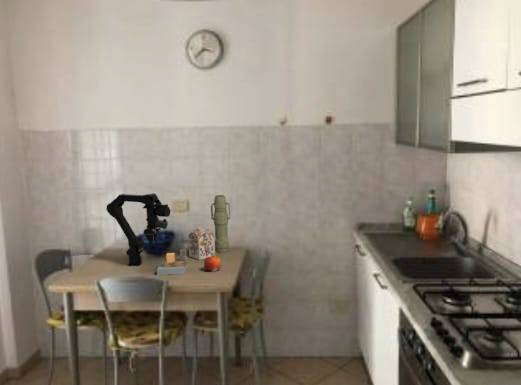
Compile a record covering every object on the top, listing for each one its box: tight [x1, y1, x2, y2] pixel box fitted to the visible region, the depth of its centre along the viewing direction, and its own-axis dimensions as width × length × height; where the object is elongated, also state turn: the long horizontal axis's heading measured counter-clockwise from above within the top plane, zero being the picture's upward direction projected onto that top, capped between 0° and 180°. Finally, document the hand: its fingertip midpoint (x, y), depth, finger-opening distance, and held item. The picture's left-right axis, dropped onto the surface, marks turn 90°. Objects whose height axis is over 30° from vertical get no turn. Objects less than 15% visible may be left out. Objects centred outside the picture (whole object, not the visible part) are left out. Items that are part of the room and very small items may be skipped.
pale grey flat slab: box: [156, 261, 189, 276], centre depth 270 cm, size 14×16×3 cm
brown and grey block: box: [162, 248, 189, 267], centre depth 269 cm, size 12×8×8 cm, turn 90°
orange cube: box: [165, 252, 176, 262], centre depth 269 cm, size 4×4×4 cm
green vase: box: [210, 194, 231, 253], centre depth 307 cm, size 9×12×35 cm
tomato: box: [203, 255, 222, 272], centre depth 267 cm, size 9×9×8 cm
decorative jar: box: [187, 226, 216, 261], centre depth 296 cm, size 12×12×18 cm
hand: (153, 243), depth 278 cm, fingers open, 9 cm apart
